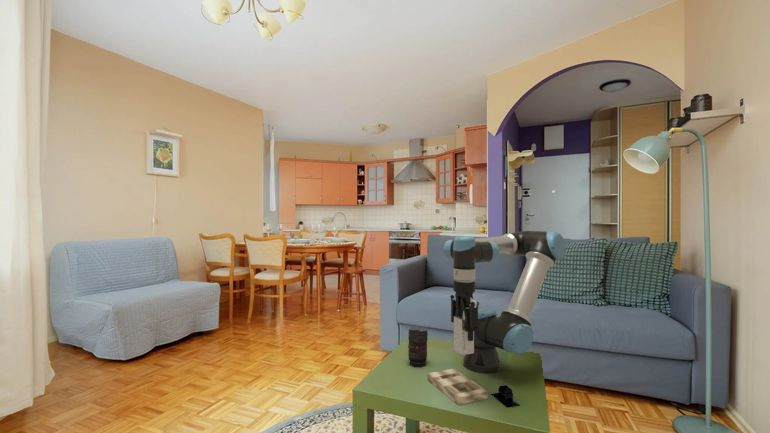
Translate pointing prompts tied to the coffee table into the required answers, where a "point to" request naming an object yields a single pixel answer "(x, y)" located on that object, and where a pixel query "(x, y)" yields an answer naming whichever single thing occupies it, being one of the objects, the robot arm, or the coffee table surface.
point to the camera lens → (417, 346)
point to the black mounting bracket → (505, 396)
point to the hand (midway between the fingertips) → (463, 346)
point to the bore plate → (457, 386)
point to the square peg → (461, 336)
